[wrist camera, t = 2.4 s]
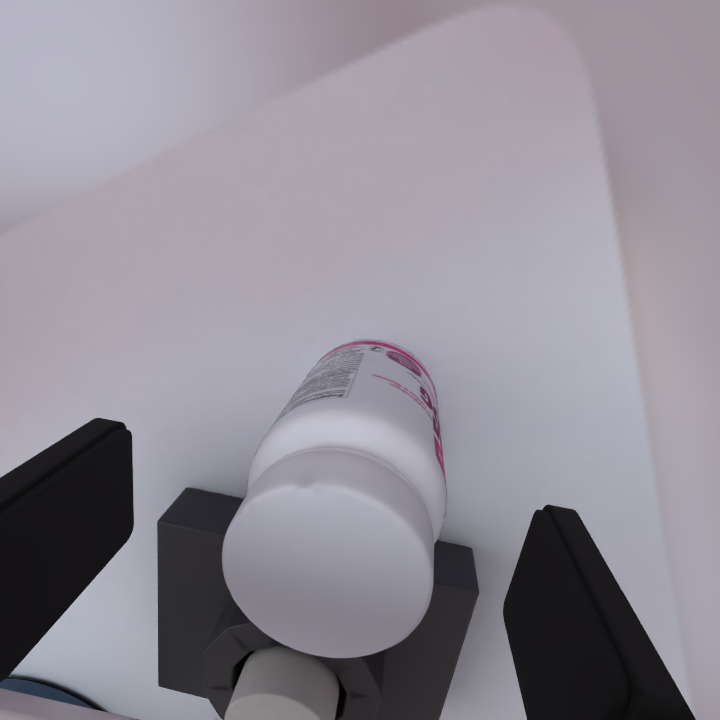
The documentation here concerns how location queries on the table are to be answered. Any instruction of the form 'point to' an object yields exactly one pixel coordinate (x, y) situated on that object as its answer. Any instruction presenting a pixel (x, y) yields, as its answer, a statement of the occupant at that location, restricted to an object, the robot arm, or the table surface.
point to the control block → (242, 637)
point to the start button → (284, 688)
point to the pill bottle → (343, 507)
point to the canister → (41, 691)
